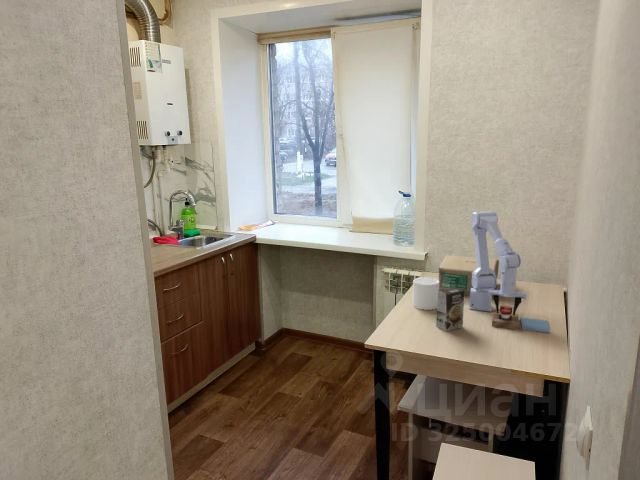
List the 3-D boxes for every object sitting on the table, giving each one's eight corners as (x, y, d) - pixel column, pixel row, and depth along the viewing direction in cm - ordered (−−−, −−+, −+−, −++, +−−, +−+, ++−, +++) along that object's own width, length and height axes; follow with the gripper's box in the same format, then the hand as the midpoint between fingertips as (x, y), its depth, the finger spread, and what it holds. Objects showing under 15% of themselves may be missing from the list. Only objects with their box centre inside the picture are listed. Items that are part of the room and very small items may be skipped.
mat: (522, 329, 187) (522, 328, 187) (521, 318, 198) (521, 317, 198) (549, 333, 184) (549, 332, 184) (546, 321, 195) (547, 320, 195)
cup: (433, 311, 208) (434, 286, 205) (408, 307, 214) (409, 282, 211) (441, 303, 217) (442, 279, 214) (417, 299, 223) (418, 275, 220)
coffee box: (446, 332, 187) (448, 294, 183) (435, 326, 193) (437, 289, 189) (463, 327, 191) (465, 290, 187) (452, 321, 197) (454, 285, 193)
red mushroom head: (498, 324, 193) (500, 308, 191) (498, 320, 197) (500, 304, 196) (511, 326, 191) (512, 310, 190) (511, 321, 196) (512, 306, 194)
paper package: (436, 293, 231) (437, 266, 228) (445, 278, 254) (446, 253, 251) (494, 300, 221) (496, 272, 217) (497, 283, 243) (499, 258, 240)
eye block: (491, 326, 191) (492, 320, 191) (492, 317, 201) (492, 311, 200) (518, 329, 188) (519, 323, 187) (517, 319, 197) (518, 314, 196)
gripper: (489, 283, 189) (487, 314, 192) (527, 287, 184) (525, 319, 187) (489, 278, 195) (487, 308, 198) (527, 281, 190) (524, 312, 193)
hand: (505, 313), depth 193 cm, fingers open, 6 cm apart
